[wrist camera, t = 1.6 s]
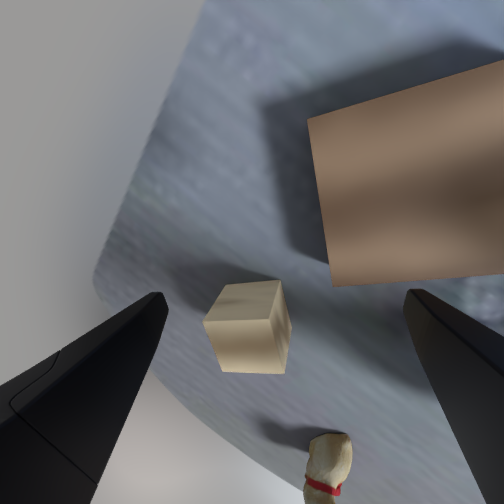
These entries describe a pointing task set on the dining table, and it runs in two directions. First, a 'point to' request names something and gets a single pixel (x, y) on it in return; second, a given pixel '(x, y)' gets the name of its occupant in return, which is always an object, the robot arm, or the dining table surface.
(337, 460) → the chocolate bunny
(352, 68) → the dining table surface
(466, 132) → the walnut block
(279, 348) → the beech cube
